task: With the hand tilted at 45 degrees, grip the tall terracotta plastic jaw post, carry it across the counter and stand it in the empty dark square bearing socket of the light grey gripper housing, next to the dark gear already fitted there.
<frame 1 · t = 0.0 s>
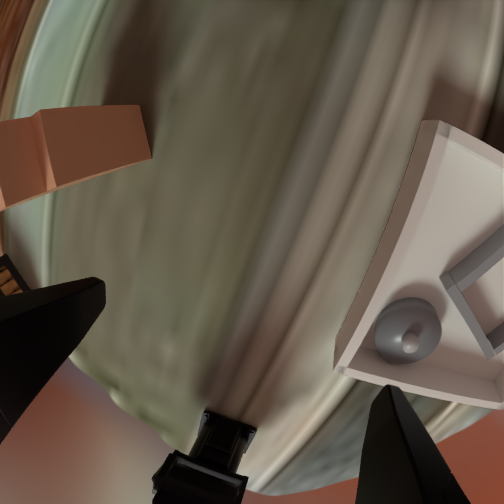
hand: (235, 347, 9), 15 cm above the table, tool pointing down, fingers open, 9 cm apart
housing: (477, 280, 20), on the table
jaw post: (123, 139, 23), on the table
ammunition clip: (25, 285, 35), on the table
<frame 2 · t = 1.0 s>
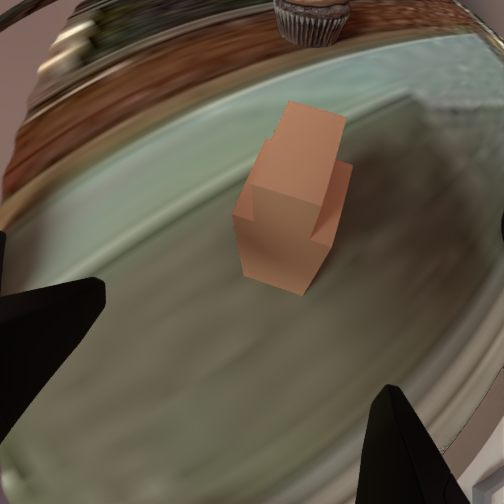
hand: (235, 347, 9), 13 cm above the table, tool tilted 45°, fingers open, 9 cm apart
housing: (486, 495, 15), on the table
jaw post: (283, 257, 24), on the table
cupcake: (308, 34, 34), on the table
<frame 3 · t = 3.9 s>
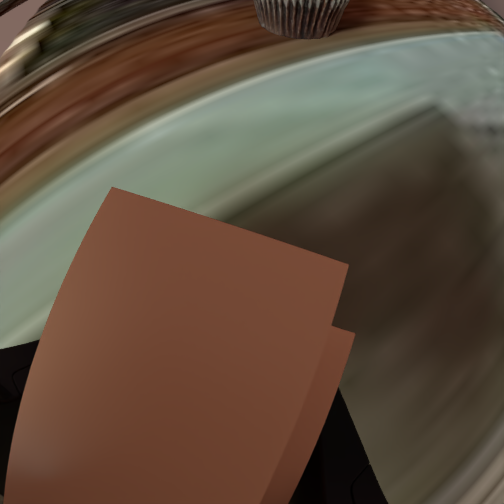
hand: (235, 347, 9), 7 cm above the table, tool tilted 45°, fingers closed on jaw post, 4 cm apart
jaw post: (235, 381, 14), on the table, touching gripper
cupcake: (298, 22, 25), on the table
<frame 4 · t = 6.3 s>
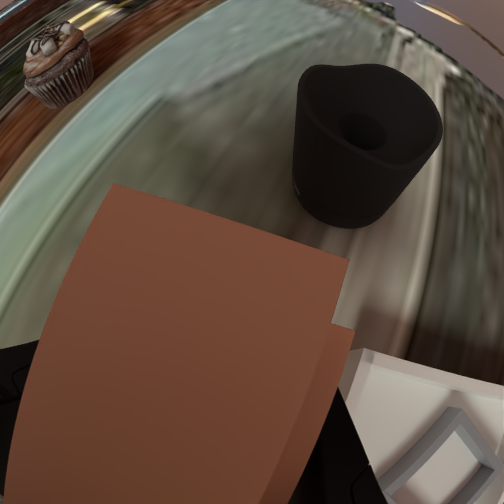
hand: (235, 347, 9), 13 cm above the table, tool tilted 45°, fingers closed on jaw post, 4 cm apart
housing: (406, 483, 17), on the table
jaw post: (235, 380, 14), point 7 cm above the table, touching gripper
cupcake: (69, 88, 33), on the table
pen holder: (341, 185, 26), on the table
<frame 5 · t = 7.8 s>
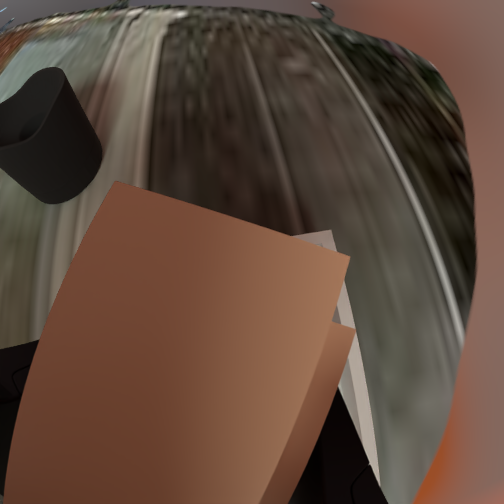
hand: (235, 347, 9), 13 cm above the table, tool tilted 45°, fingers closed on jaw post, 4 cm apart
housing: (220, 393, 20), on the table
jaw post: (236, 379, 14), point 7 cm above the table, touching gripper
pen holder: (68, 169, 28), on the table
when the fingers open (9 cm above the table, at t = 9.2 s): jaw post drops 1 cm, resting on housing.
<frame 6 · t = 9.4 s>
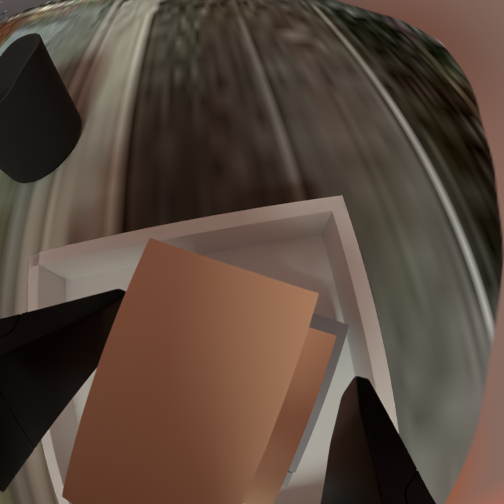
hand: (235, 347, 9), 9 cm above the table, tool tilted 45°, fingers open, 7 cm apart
housing: (206, 400, 16), on the table
jaw post: (238, 378, 16), point 1 cm above the table, touching housing
pen holder: (45, 146, 24), on the table
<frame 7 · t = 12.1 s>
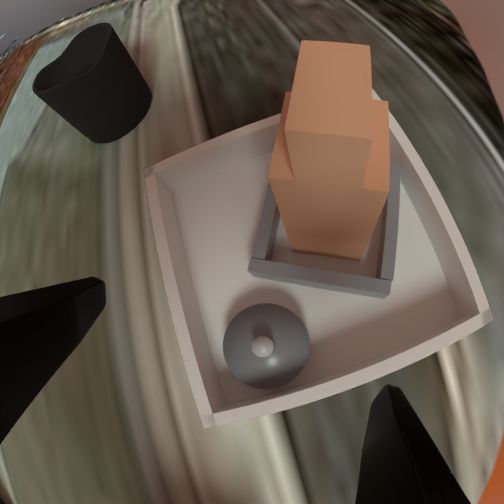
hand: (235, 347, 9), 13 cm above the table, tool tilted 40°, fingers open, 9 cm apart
housing: (308, 252, 22), on the table
jaw post: (330, 224, 21), point 1 cm above the table, touching housing
pen holder: (120, 114, 31), on the table
ammunition clip: (1, 502, 21), on the table
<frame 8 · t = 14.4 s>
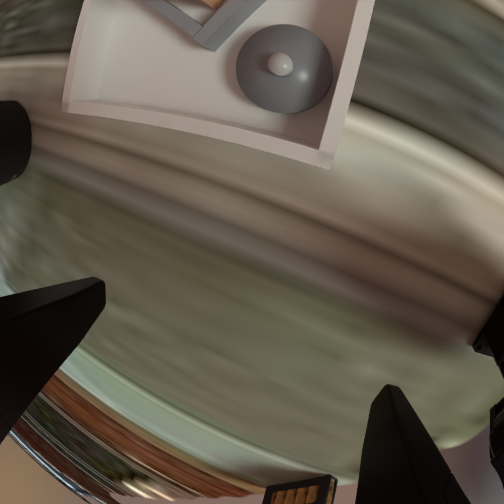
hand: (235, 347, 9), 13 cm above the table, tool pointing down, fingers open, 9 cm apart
housing: (227, 1, 16), on the table
pen holder: (13, 139, 25), on the table
ammunition clip: (300, 482, 34), on the table
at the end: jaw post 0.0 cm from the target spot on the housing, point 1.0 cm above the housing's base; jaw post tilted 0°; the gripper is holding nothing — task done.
